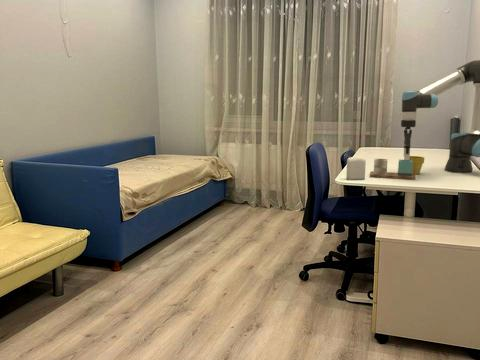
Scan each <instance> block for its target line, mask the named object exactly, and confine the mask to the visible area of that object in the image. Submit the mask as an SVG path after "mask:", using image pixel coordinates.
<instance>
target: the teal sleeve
mask: <svg viewBox="0 0 480 360" xmlns="http://www.w3.org/2000/svg"><path fill="white" fill-rule="evenodd" d="M412 163H413V161H412V160H404V159H398V165H397V173H398V175H399V176H412Z"/></svg>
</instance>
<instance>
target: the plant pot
mask: <svg viewBox="0 0 480 360" xmlns="http://www.w3.org/2000/svg"><path fill="white" fill-rule="evenodd" d="M410 160H412V161H413V163H412V173H413V174H415V175H419V174H420V173H421V169H422V167H423V164H424V163H425V157H423V156H419V155H410Z"/></svg>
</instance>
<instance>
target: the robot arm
mask: <svg viewBox="0 0 480 360" xmlns="http://www.w3.org/2000/svg"><path fill="white" fill-rule="evenodd" d="M471 82H472V85H473V86H474V87H475V90H474V100H473V106H472V116H471V126H470V130H469V131H468V132H458V133H456V132H455V133H452V134H451V135H450V139H449V140H450V143H449V154H448V159H447V161H446V164H445V166H444V171H446V172H451V173H459V174H460V173H461V174H462V173H463V174H465V173H466V174H467V173H468V174H469V173H473V170H474V168H473V164H472V160H471V157H474V158H480V59H475V60H472V61H470V62H467V63H465V64H463V65H462V66H459V67H457V68H456V69H454V70H452V73H450V74H448V75H445V76H444V77H442V78H440V79H438V80H437V81H434V82H433V83H431V84H429V85H426V86H425V87H423V88H421V89H419V90H405V91H403V92H402V96H401V97H402V98H401V113H400V114H399V115H400V116H401V121H400V127H401V128H404V130H403V137H404V142H403V144H404V145H403V160H410V156H411V138H412V133H413V130H412V129H411V128H415V127H416V124H417V120H416V119H417V110H418V109H434V108H436V107H437V106H438V104H439V97H438V96H439V95H440V94H443V93H445V92H447V91H449V90H452V89H453V88H454V87H456V86H461V85H464V84H466V83H471Z"/></svg>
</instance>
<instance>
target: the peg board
mask: <svg viewBox="0 0 480 360" xmlns="http://www.w3.org/2000/svg"><path fill="white" fill-rule="evenodd" d="M373 161H374V162H373V171H372V170H370V172H369V178H375V179H376V178H378V179H393V180H394V179H396V180H410V181H411V180H412V181H415V180H416V178H417V177H416V174H413V173H412V176H399V175H398V172H388V158H378V157H377V158H374V160H373Z"/></svg>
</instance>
